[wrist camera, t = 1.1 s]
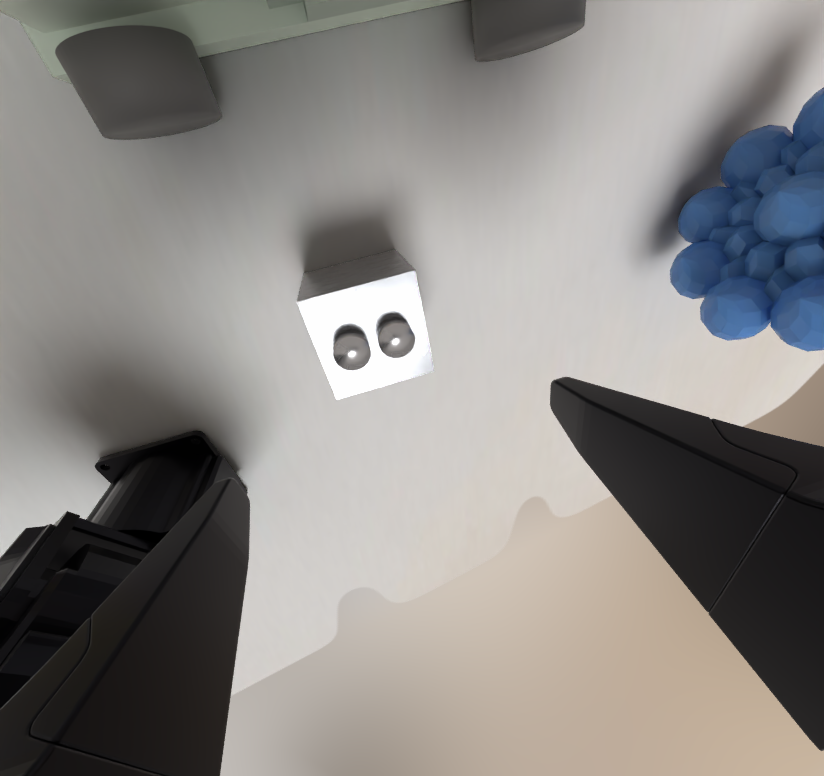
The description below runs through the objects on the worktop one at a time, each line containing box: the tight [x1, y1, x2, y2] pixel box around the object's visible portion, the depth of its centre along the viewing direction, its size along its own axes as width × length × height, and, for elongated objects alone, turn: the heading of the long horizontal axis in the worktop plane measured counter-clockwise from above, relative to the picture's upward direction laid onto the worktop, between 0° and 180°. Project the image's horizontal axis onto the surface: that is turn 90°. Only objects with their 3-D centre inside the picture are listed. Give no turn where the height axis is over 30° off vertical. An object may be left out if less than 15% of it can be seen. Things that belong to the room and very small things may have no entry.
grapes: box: [670, 88, 824, 351], centre depth 16 cm, size 12×7×12 cm, turn 155°
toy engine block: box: [297, 249, 435, 400], centre depth 17 cm, size 5×5×6 cm
